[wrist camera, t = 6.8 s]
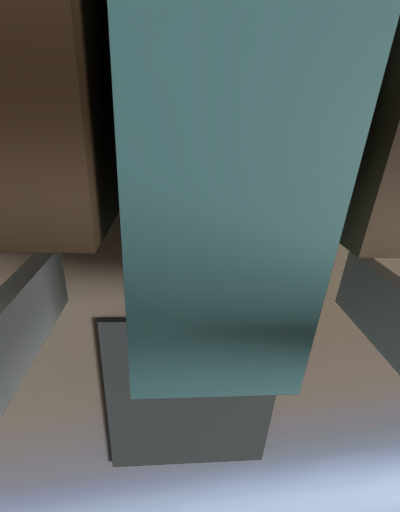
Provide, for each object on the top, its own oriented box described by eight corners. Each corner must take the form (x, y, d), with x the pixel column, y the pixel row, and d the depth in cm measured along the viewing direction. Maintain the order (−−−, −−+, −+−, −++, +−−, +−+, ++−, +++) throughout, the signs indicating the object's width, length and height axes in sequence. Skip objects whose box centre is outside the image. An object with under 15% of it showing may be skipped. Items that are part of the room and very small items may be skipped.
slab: (129, -46, 9) (97, -160, 5) (331, -24, 9) (433, -113, 6) (141, 326, 14) (130, 399, 10) (267, 325, 15) (298, 394, 11)
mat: (98, 318, 18) (97, 322, 18) (290, 317, 20) (292, 321, 19) (113, 461, 24) (112, 467, 24) (260, 454, 25) (261, 459, 25)
